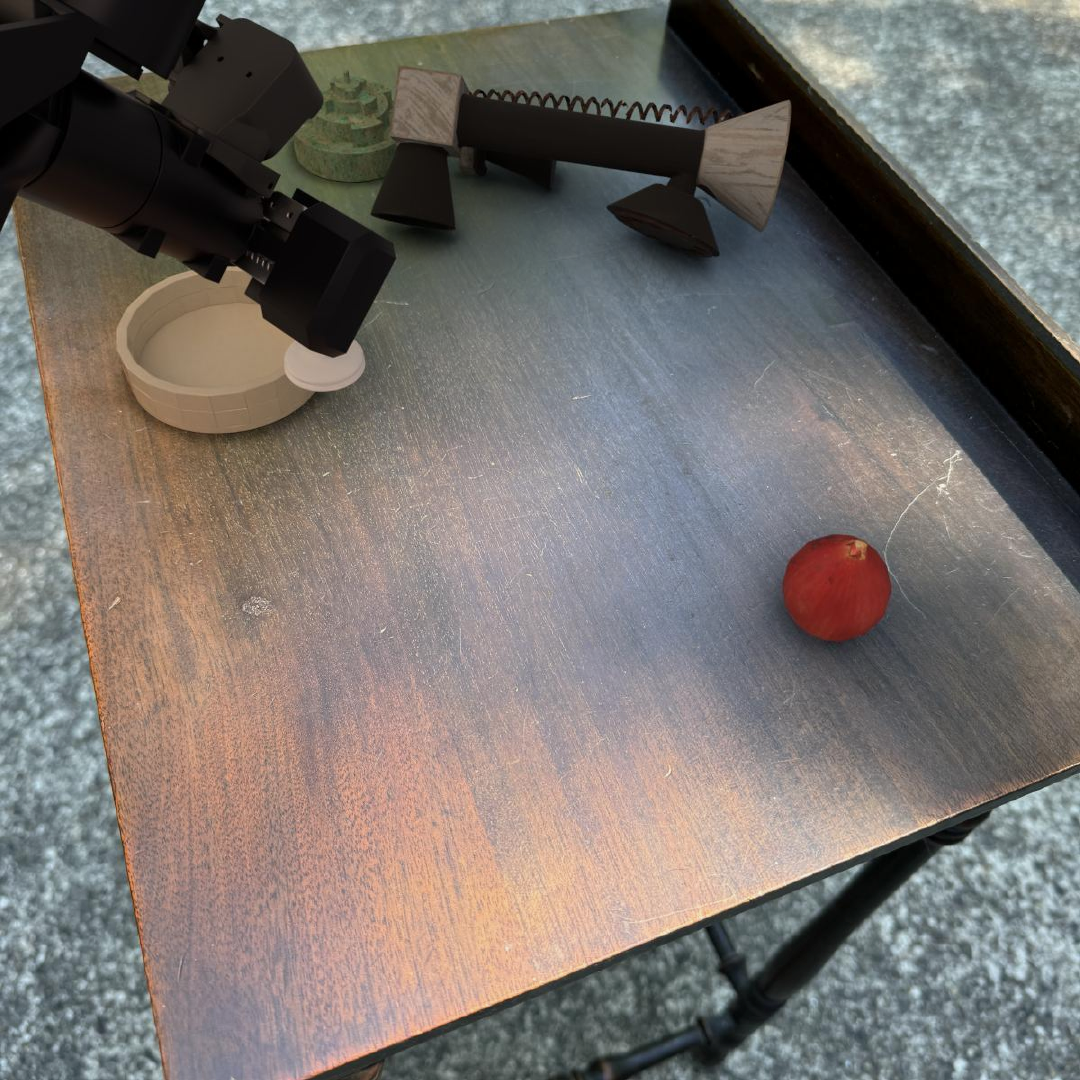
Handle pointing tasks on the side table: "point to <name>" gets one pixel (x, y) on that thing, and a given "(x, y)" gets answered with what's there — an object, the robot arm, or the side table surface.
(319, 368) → the chess piece
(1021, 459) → the side table surface
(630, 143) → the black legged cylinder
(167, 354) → the pan
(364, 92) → the decorative artifact
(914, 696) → the side table surface
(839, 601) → the onion
